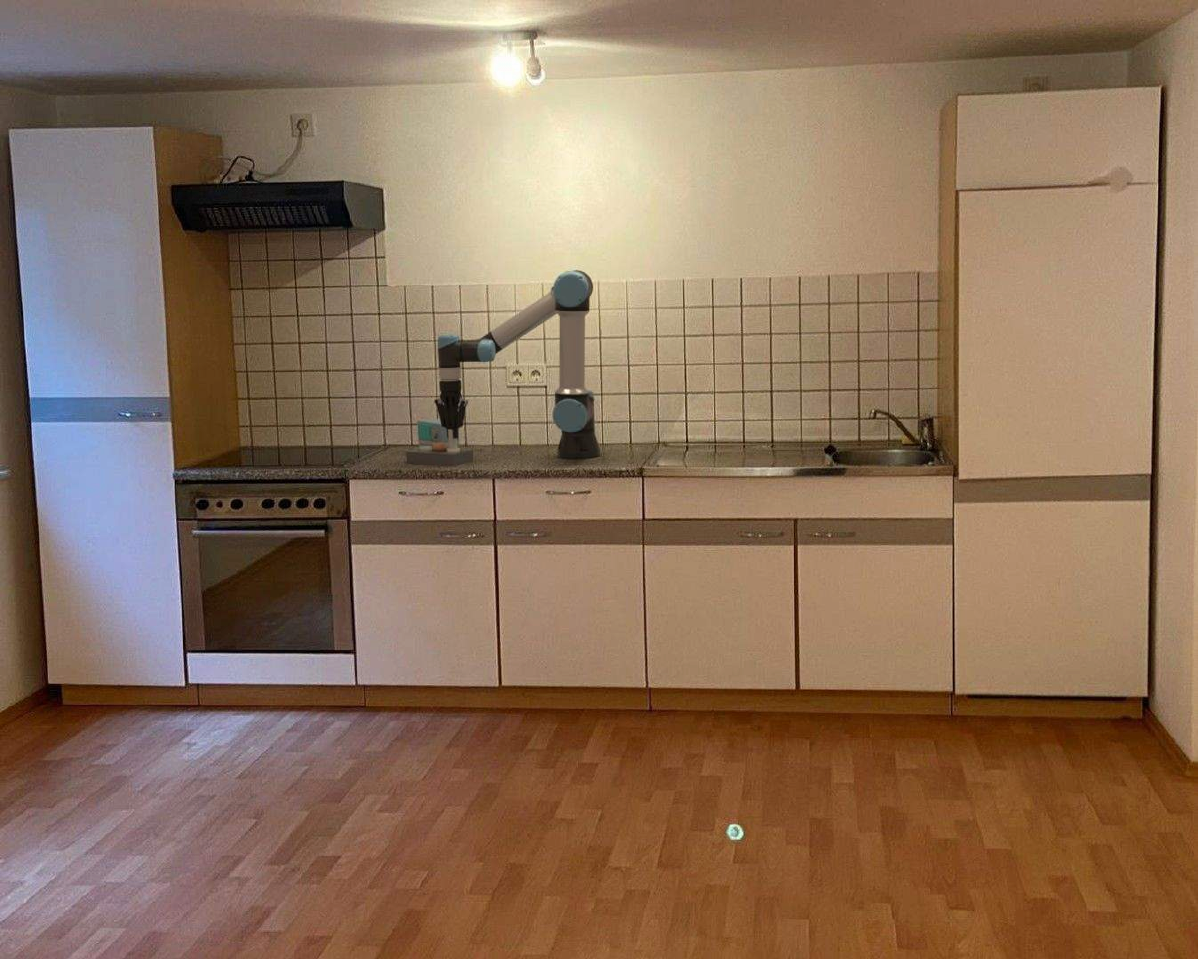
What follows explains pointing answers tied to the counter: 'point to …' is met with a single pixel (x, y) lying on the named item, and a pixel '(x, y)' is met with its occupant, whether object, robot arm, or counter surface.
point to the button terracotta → (439, 446)
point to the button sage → (425, 448)
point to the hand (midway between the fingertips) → (453, 447)
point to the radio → (432, 433)
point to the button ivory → (453, 450)
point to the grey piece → (439, 457)
